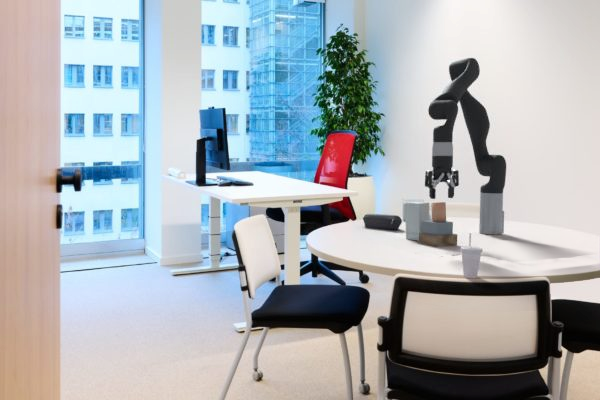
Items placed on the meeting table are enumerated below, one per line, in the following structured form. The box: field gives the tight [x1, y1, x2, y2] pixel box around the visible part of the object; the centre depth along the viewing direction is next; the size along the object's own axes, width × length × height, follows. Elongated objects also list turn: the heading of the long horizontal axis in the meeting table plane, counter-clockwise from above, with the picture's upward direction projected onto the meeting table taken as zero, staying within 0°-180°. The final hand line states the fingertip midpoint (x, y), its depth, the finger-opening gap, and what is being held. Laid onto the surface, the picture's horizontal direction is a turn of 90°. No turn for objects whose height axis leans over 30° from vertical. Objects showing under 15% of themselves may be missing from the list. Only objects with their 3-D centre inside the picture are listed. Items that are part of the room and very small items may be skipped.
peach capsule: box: [430, 201, 447, 222], centre depth 239 cm, size 5×5×7 cm
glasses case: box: [362, 213, 403, 231], centre depth 278 cm, size 18×10×8 cm, turn 58°
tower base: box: [418, 233, 458, 248], centre depth 240 cm, size 10×10×4 cm
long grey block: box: [401, 198, 425, 222], centre depth 316 cm, size 32×11×11 cm, turn 171°
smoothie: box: [460, 232, 483, 279], centre depth 192 cm, size 6×6×14 cm
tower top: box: [422, 219, 454, 235], centre depth 240 cm, size 8×8×4 cm
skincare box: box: [405, 201, 431, 242], centre depth 252 cm, size 8×6×15 cm
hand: (441, 198), depth 238 cm, fingers open, 8 cm apart
